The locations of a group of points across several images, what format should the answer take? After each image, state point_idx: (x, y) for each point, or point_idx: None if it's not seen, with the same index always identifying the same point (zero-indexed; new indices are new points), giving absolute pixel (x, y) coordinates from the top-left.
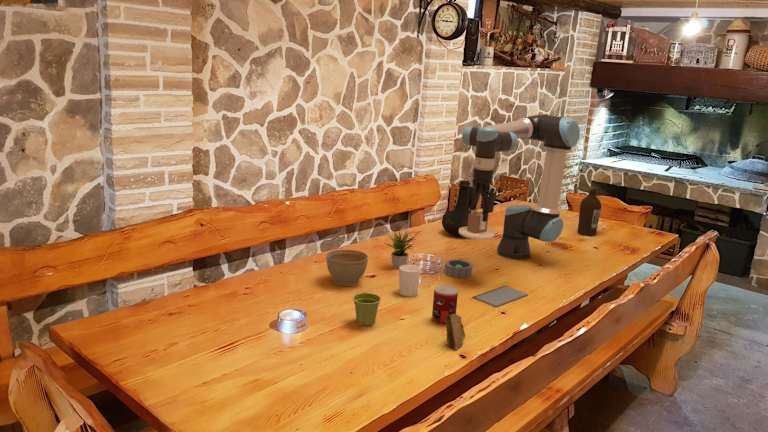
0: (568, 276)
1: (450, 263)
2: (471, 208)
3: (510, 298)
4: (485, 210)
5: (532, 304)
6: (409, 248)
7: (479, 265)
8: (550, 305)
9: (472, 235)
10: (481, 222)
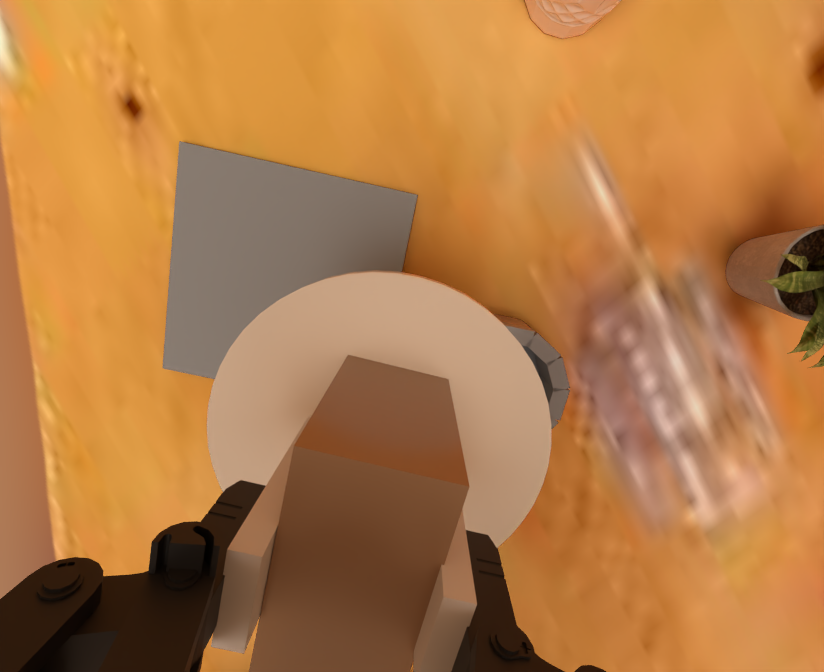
0: None
1: (547, 393)
2: (490, 643)
3: (183, 268)
4: (133, 616)
5: (103, 288)
6: (804, 283)
7: None
8: (52, 329)
9: (332, 278)
10: (281, 462)
